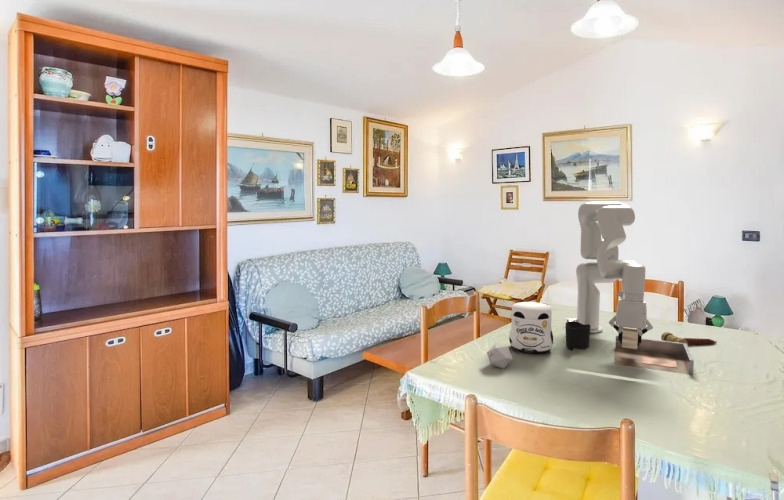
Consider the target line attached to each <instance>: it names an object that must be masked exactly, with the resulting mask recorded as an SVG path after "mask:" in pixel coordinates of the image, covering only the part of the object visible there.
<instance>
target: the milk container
mask: <svg viewBox="0 0 784 500" xmlns="http://www.w3.org/2000/svg"><path fill="white" fill-rule="evenodd" d="M552 311H553V310H552V306H551V305H549V304H547V303H542V302H536V301H522V302H520V301H519V302H515V303H513V304H512V306H511V326H510V330H509V335H508V338H509V339H508V340H509V344H510V347H512V348H513V349H515V350H517V351H520V352H524V353H531V354H540V353H545V352H549V351H550V350H552V347H553V345H554V335H553V331H552V313H553V312H552Z"/></svg>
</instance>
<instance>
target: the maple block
mask: <svg viewBox="0 0 784 500" xmlns="http://www.w3.org/2000/svg"><path fill="white" fill-rule="evenodd" d="M622 332H623V334H622V347H624V348H632V349H637V343H638V329H637V328H629V327H623V329H622Z"/></svg>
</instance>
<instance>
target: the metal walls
mask: <svg viewBox="0 0 784 500" xmlns="http://www.w3.org/2000/svg"><path fill="white" fill-rule="evenodd" d="M614 344H615V345H614V347H615V348H617V349H625V350H633V351H641V352H649V353H657V354H665V355H673V356H681V357H683V360H684V363H685V365H686V368H687V371H688V373H689V374H688V375H691V374H692V376H693V375H694V364H695V363H694V362H695V361H694V358H693V356H692V353H691V351H690V348H689V346H687V344H686V343H679V342H670V341H662V339H660V340H659V339H651V338H641V343H639V346H637V349H632V348H624V347H622V344H620V341H619V340H618V335H615V343H614ZM615 348H614V349H615Z"/></svg>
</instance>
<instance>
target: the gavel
mask: <svg viewBox="0 0 784 500" xmlns="http://www.w3.org/2000/svg"><path fill="white" fill-rule="evenodd" d="M660 340H661V341H670V342H679V343H686V344H687V346H688V345H693V346H695V345H698V346H699V345H700V346H701V345H706V346H708V345H710V346H711V345H715V344H717V341H716V340H714V339H710V338H691V337H689V338H687V337H683V338H682V337H678V336H676V335H674V334H673V333H671V332H668V331H665V332H663V333H662V334H661V336H660ZM688 347H689V346H688Z"/></svg>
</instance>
